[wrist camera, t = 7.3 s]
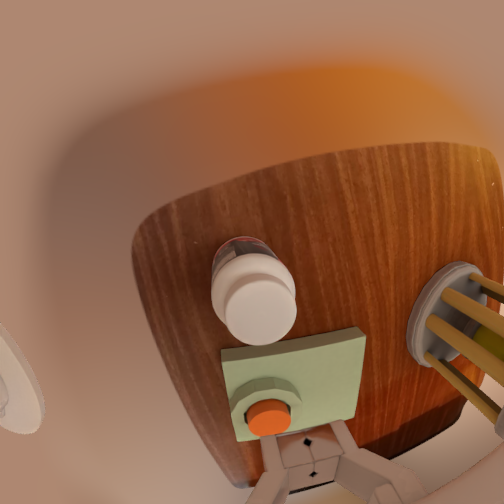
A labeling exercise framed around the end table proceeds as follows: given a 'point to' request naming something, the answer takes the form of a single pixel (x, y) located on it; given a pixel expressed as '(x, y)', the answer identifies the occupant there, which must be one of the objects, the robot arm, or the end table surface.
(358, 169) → the end table surface
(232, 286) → the pill bottle
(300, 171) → the end table surface
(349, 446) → the robot arm
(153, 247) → the end table surface
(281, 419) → the press button
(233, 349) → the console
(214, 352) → the end table surface
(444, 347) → the lantern
